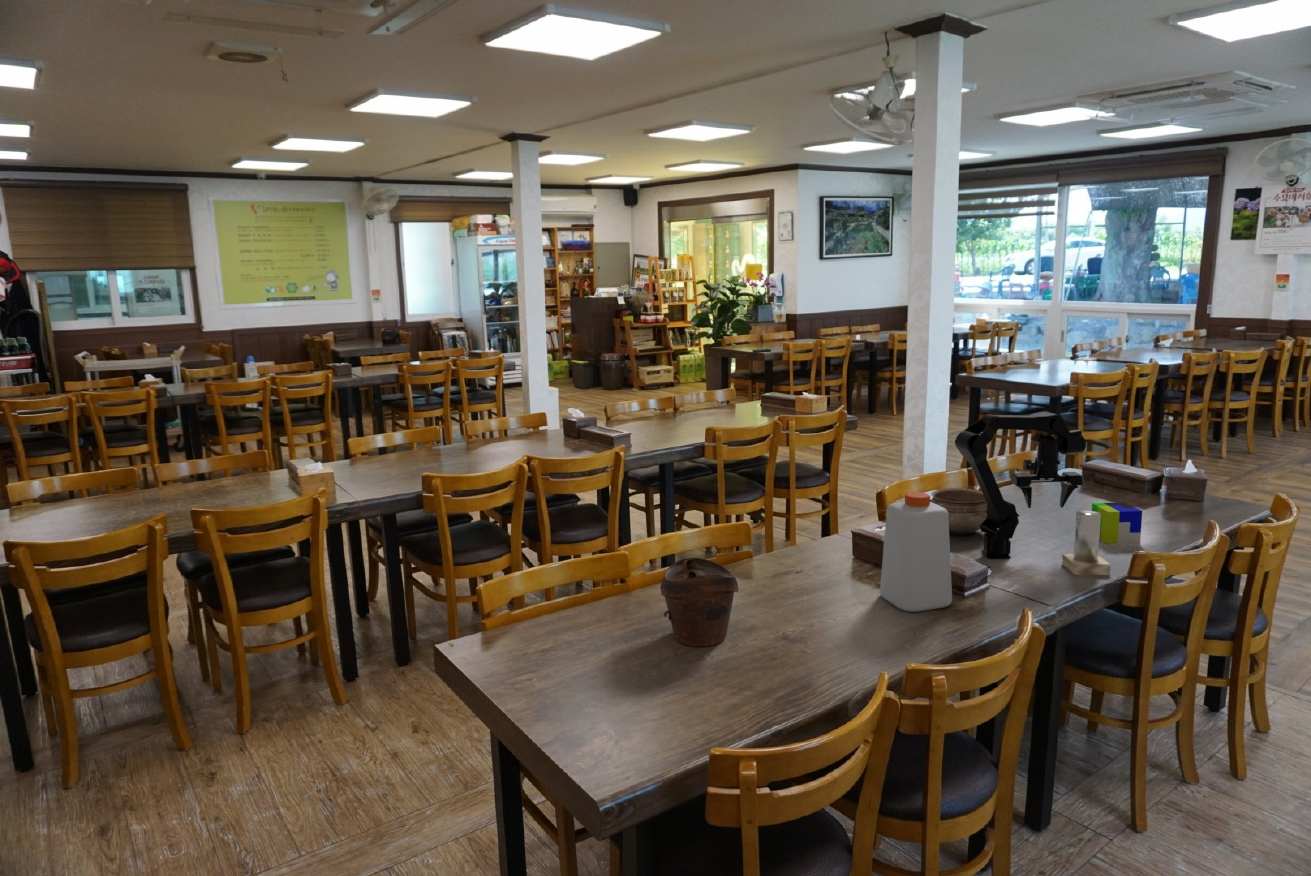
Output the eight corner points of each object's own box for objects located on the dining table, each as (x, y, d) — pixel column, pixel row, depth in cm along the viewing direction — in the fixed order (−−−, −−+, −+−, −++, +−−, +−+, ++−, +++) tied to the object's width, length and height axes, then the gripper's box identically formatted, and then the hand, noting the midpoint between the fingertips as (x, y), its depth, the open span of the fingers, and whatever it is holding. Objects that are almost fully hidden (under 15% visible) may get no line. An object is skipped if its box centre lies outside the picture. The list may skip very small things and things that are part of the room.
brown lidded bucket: (688, 613, 214) (686, 545, 211) (755, 632, 202) (754, 560, 198) (643, 638, 201) (639, 566, 198) (711, 659, 188) (709, 583, 185)
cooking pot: (1011, 533, 268) (1013, 496, 265) (979, 547, 256) (981, 508, 253) (940, 518, 287) (941, 483, 284) (908, 530, 275) (908, 493, 272)
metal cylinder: (1078, 562, 231) (1081, 516, 229) (1069, 555, 237) (1072, 510, 234) (1101, 562, 231) (1104, 516, 228) (1092, 555, 236) (1094, 510, 234)
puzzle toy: (1140, 543, 254) (1142, 510, 252) (1106, 544, 255) (1108, 512, 253) (1122, 533, 264) (1124, 502, 262) (1090, 534, 264) (1092, 503, 262)
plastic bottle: (905, 615, 208) (907, 505, 203) (873, 594, 222) (874, 490, 217) (958, 607, 212) (962, 498, 207) (924, 586, 226) (926, 484, 221)
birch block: (1075, 575, 230) (1076, 564, 230) (1061, 564, 239) (1062, 553, 238) (1109, 574, 230) (1110, 564, 229) (1094, 563, 238) (1095, 553, 238)
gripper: (1069, 449, 253) (1066, 499, 256) (1005, 450, 254) (1003, 501, 257) (1085, 457, 242) (1082, 509, 245) (1018, 458, 243) (1016, 511, 246)
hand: (1045, 507), depth 249 cm, fingers open, 9 cm apart
